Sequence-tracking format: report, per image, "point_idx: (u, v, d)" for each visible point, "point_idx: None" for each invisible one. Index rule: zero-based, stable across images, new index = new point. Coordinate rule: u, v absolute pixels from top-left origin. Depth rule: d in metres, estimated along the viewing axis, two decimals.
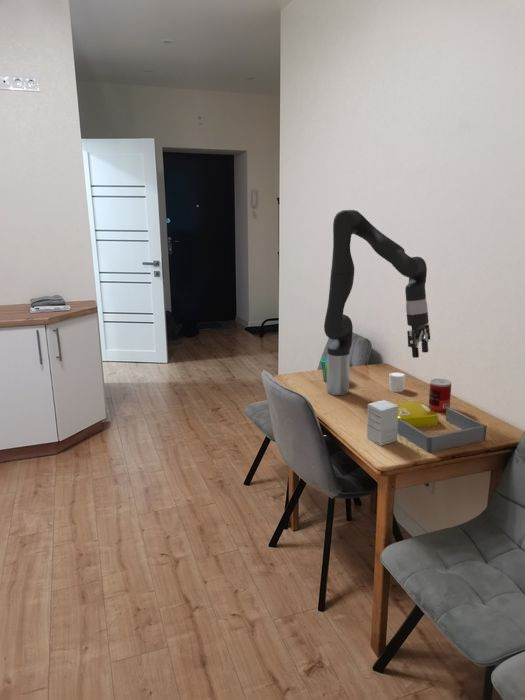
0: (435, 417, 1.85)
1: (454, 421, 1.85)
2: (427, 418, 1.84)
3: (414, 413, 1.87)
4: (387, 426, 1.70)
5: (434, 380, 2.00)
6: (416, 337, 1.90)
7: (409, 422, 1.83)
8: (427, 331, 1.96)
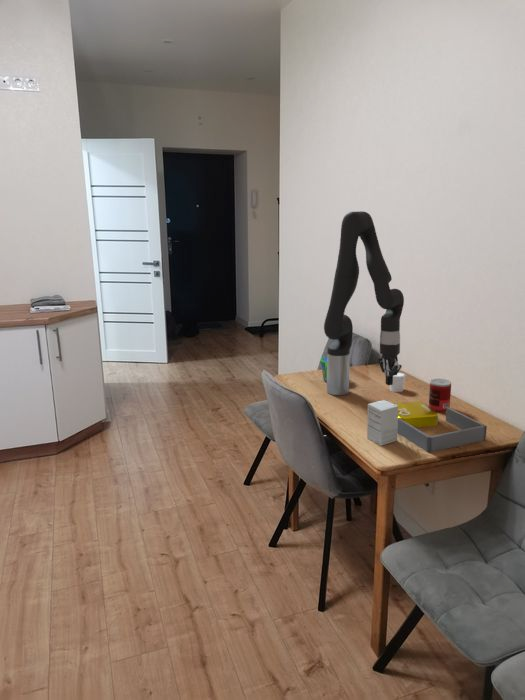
0: (435, 417, 1.85)
1: (454, 421, 1.85)
2: (428, 418, 1.84)
3: (414, 413, 1.87)
4: (387, 426, 1.70)
5: (434, 380, 2.00)
6: None
7: (409, 422, 1.83)
8: None
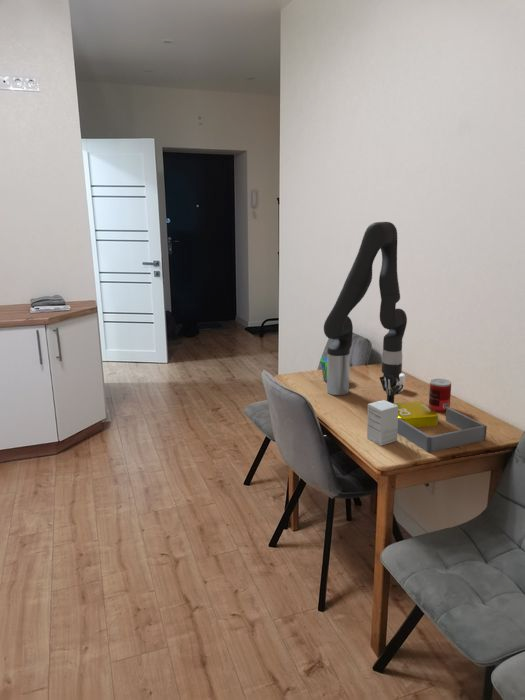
0: (435, 417, 1.85)
1: (454, 421, 1.85)
2: (428, 418, 1.84)
3: (414, 413, 1.87)
4: (387, 426, 1.70)
5: (434, 380, 2.00)
6: None
7: (409, 422, 1.83)
8: None
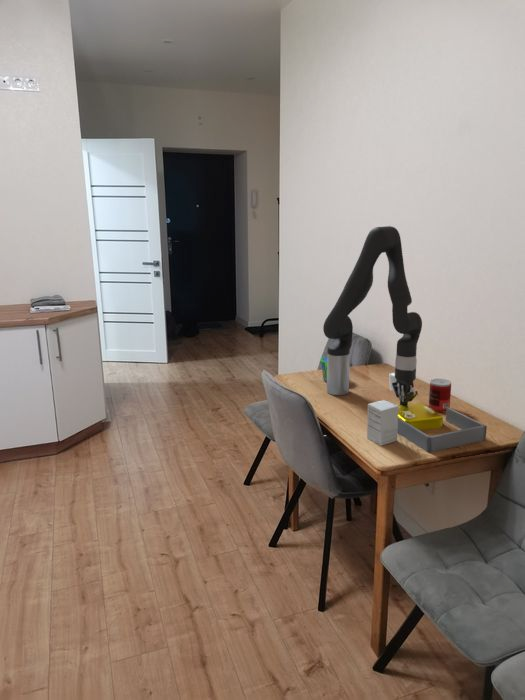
0: (440, 419, 1.83)
1: (454, 421, 1.85)
2: (433, 420, 1.82)
3: (419, 415, 1.85)
4: (387, 426, 1.70)
5: (434, 380, 2.00)
6: None
7: (415, 425, 1.81)
8: None
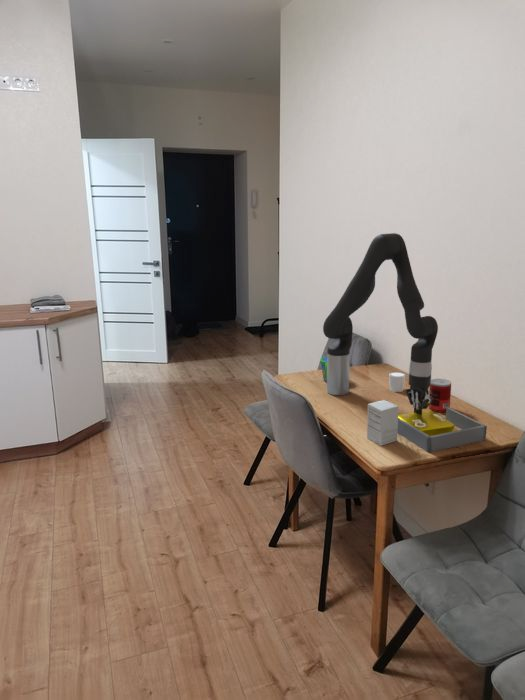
0: (452, 427, 1.76)
1: (454, 421, 1.85)
2: (445, 429, 1.75)
3: (430, 423, 1.77)
4: (387, 426, 1.70)
5: (434, 380, 2.00)
6: None
7: None
8: None
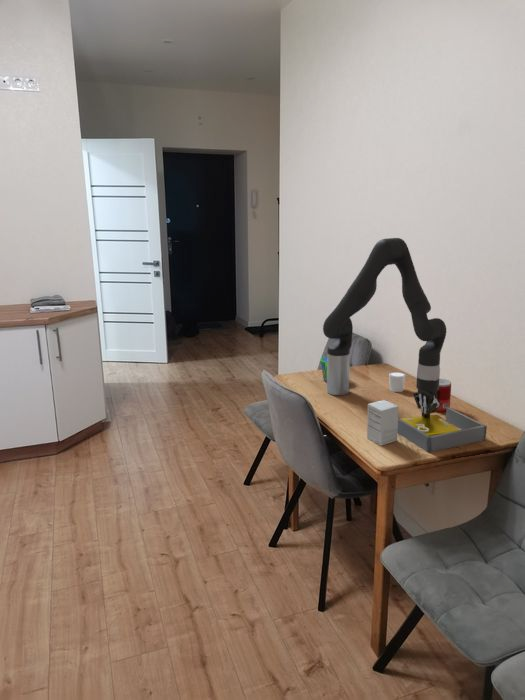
0: None
1: (454, 421, 1.85)
2: None
3: (433, 428, 1.73)
4: (387, 426, 1.70)
5: None
6: None
7: None
8: None
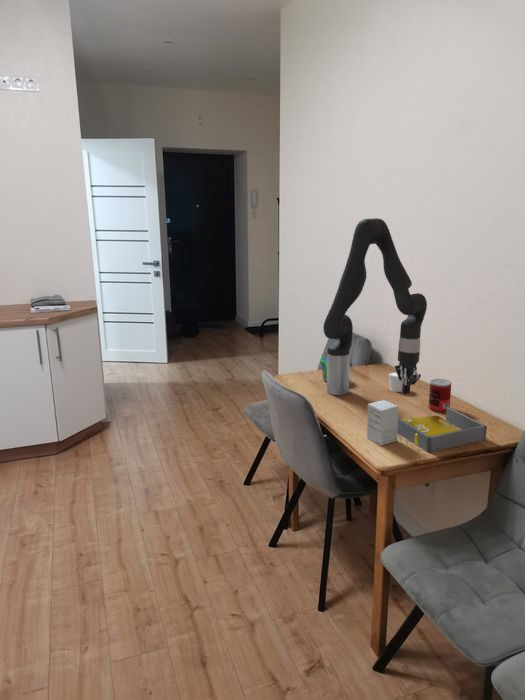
0: None
1: (454, 421, 1.85)
2: None
3: (433, 429, 1.73)
4: (387, 426, 1.70)
5: (434, 380, 2.00)
6: None
7: None
8: None
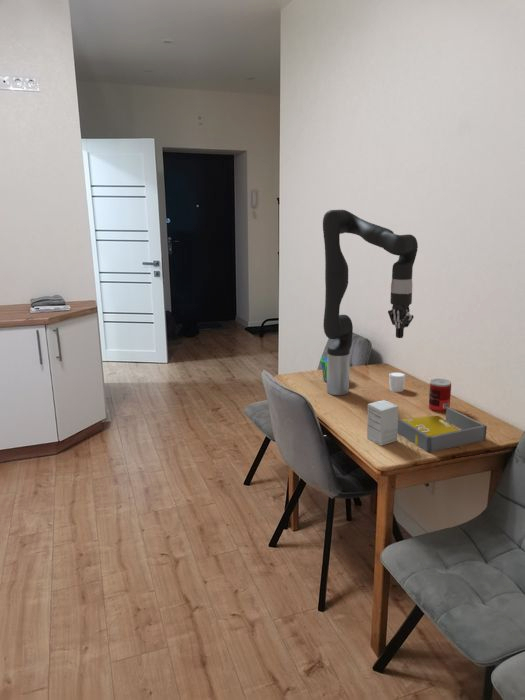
0: None
1: (454, 421, 1.85)
2: None
3: (433, 429, 1.73)
4: (387, 426, 1.70)
5: (434, 380, 2.00)
6: None
7: None
8: None
